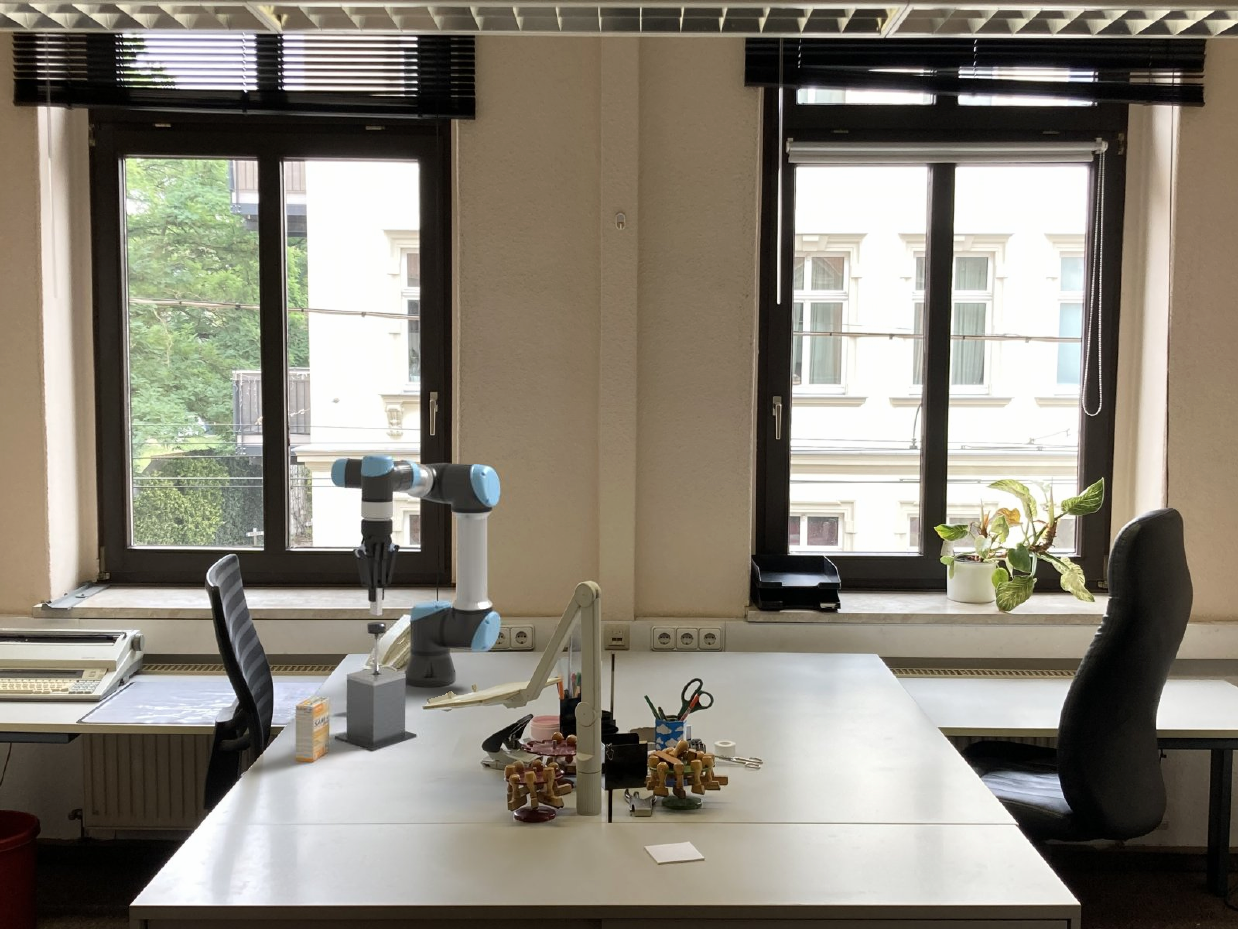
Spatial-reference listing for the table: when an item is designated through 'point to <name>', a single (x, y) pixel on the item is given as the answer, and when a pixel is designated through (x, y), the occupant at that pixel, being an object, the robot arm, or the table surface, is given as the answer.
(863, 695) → the table surface
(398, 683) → the block
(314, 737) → the supplement box
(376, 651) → the plunger
